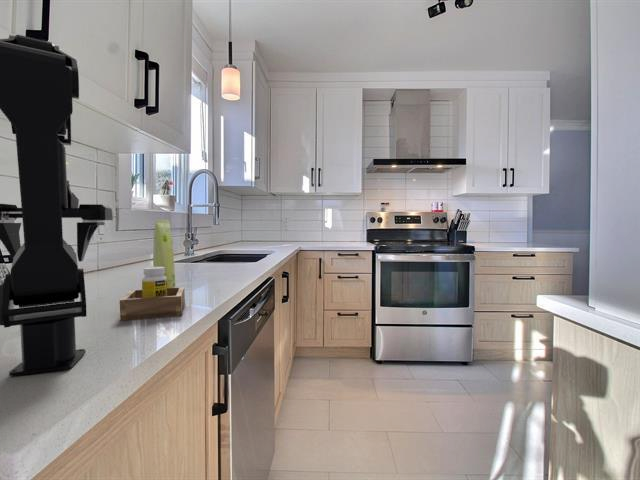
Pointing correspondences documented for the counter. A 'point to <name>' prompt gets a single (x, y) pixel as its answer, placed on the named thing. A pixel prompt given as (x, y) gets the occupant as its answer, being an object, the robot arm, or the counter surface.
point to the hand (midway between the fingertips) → (50, 262)
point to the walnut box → (152, 305)
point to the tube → (164, 250)
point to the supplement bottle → (154, 282)
